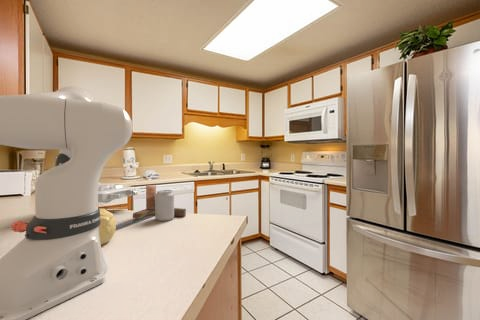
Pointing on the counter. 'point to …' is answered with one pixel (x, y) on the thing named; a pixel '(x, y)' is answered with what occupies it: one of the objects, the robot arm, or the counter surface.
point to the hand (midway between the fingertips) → (128, 194)
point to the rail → (132, 222)
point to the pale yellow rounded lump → (106, 226)
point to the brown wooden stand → (151, 205)
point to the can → (164, 205)
